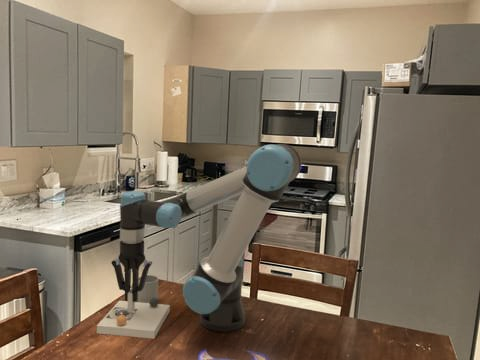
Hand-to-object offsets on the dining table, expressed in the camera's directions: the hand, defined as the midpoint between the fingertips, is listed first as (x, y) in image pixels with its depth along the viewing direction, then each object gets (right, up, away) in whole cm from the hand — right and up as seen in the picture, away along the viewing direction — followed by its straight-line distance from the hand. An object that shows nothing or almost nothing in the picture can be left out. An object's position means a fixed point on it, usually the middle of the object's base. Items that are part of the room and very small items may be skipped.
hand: (131, 310), depth 132 cm
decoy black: (+6, +1, +6) cm, 9 cm away
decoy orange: (-1, -1, -7) cm, 7 cm away
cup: (+1, -2, +15) cm, 16 cm away
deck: (+1, -4, 0) cm, 4 cm away
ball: (-3, -2, 0) cm, 4 cm away
